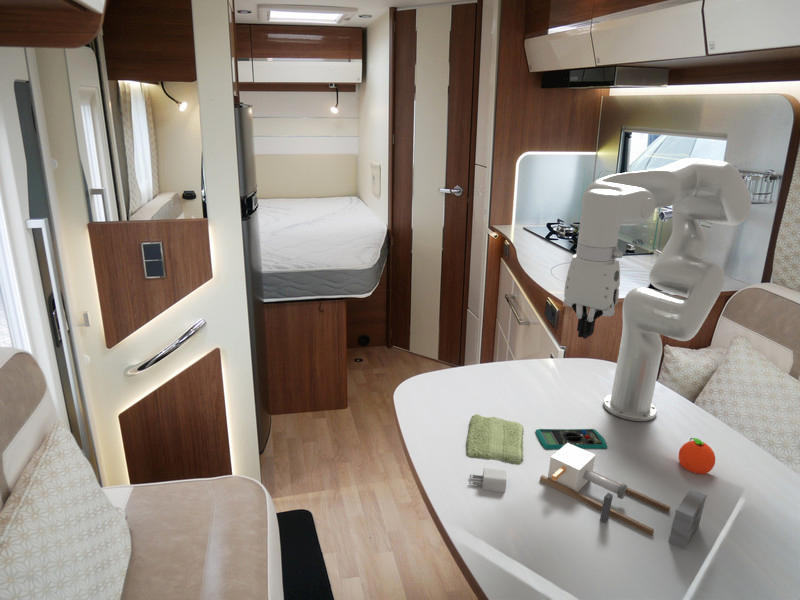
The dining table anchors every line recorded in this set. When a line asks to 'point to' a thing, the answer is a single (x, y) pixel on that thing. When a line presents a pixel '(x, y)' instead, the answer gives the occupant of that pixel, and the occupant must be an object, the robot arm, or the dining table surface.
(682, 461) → the clementine
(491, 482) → the usb wall charger
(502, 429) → the washcloth
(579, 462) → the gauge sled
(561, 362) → the dining table surface
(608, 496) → the dark grey block
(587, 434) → the digital multimeter
